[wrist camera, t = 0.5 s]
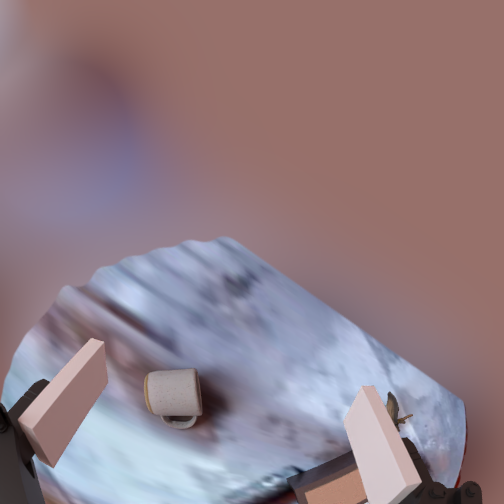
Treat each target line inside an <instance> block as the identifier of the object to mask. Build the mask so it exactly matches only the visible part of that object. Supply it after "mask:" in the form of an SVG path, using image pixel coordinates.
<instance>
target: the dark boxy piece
mask: <svg viewBox="0 0 504 504" xmlns="http://www.w3.org/2000/svg"><path fill="white" fill-rule="evenodd" d="M286 479H287V482H288V484H289V485H290V487H291V488H292V490H293V491H294V493H295V496H296V499H297V502H298V504H364V503H366V502H368V499H367V495H366V492H365V489H364V485H363V482H362V479H361V476H360V472H359V469H358V466H357V463H356V460H355V457H354V453H353V450H352V451H350V452H348V453H346V454H344V455H342V456H339V457H337V458H335V459H333V460H331V461H329V462H326V463H324V464H322V465H320V466H317V467H315V468H312V469H310V470H307V471H305V472H302V473H300V474H297V475H294V476H292V477H289V478H286Z"/></svg>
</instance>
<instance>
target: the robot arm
mask: <svg viewBox="0 0 504 504" xmlns="http://www.w3.org/2000/svg"><path fill="white" fill-rule="evenodd" d="M107 384H108V376H107V367H106V357H105V346H104V342H102V341H99V340H96V339H93V338H91V339H90V340H89V341H88V342H87V343H86V344H85V345H84V346H83V347H82V348H81V350H80V351H79V352H78V353H77V354H76V355H75V356H74V357H73V358H72V359H71V360H70V361H69V362H68V363H67V364H66V365H65V367H64V368H63V369H62V370H61V371H60V372H59V373H58V374H57V375H56V376H55V377H54V379H53V380H52V381H51V382H49V381H47V380H45V379H42V380H40V381H38V382H36V383H34V384H33V385H32V386H31V387H30V388H29V389H28V391H27V392H26V393H25V394H24V396H22V397H21V398H20V399H19V400H18V401H17V402H16V404H15V405H14V406H13V407H12V408H11V409H10V410H9V411H8V412H7V411H6V409H5V407H4V406H3V404H2V403H0V504H45V501H44V498H43V495H42V491H41V488H40V485H39V481H38V477H37V474H36V470H35V465H34V461H33V459H32V457H33V455H34V454H36V456H37V457H38V459H39V460H40V461H41V462H43V463H45V464H47V465H48V466H50V467H52V468H54V467H55V465H56V463H57V462H58V460H59V458H60V457H61V455H62V454H63V452H64V450H65V449H66V447H67V445H68V444H69V442H70V441H71V439H72V437H73V436H74V434H75V433H76V431H77V429H78V428H79V426H80V425H81V423H82V422H83V420H84V419H85V417H86V415H87V414H88V412H89V411H90V409H91V408H92V406H93V405H94V403H95V402H96V400H97V399H98V397H99V396H100V394H101V393H102V391H103V390H104V388H105V387H106V385H107ZM343 423H344V426H345V429H346V432H347V435H348V438H349V441H350V444H351V447H352V450H353V453H354V457H355V460H356V463H357V466H358V469H359V472H360V476H361V479H362V482H363V485H364V489H365V492H366V495H367V499H368V502H369V504H482V493H481V488H480V486H479V485H478V484H477V483H475V482H473V481H467V482H466V483H464V484H463V485H462V486H461V487H460V488H446V487H445V486H444V485H443V484H441V483H439V482H433V480H432V478H431V476H430V474H429V472H428V470H427V468H426V466H425V464H424V462H423V460H422V459H421V456H420V454H419V453H418V451H417V449H416V447H415V445H414V443H413V442H411V441H410V440H409V439H408V438H407V437H406V438H401V437H400V435H399V433H398V431H397V429H396V427H395V425H394V423H393V421H392V419H391V417H390V416H389V414H388V412H387V410H386V408H385V406H384V404H383V402H382V400H381V398H380V396H379V394H378V393H377V391H376V389H375V387H374V386H361V388H360V390H359V392H358V394H357V396H356V398H355V400H354V402H353V404H352V406H351V408H350V410H349V412H348V413H347V415H346V417H345V419H344V421H343Z"/></svg>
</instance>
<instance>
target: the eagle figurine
mask: <svg viewBox="0 0 504 504" xmlns="http://www.w3.org/2000/svg"><path fill="white" fill-rule="evenodd" d="M385 408H386V410H387V412H388V414H389V416H390V417H391V419H392V421H393V423H394V425H395V427H396V428H397V431H400V430H399V427H398V424H399V423H403V424H405V423H406V422H405V421H404V420H405V419H407V418H409V417H411V416H413V414H411V415H408V416H406V417H404V418H401V419H397V417H398V411H399V407H398V403H397V401H396V398H395V397H394V395H393V394H392V393H391V392H388V401H387V405H386V407H385Z"/></svg>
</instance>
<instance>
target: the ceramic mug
mask: <svg viewBox="0 0 504 504" xmlns="http://www.w3.org/2000/svg"><path fill="white" fill-rule="evenodd" d="M144 394H145V400H146V404H147V407H148V409H149V411H150V412H151V413H153V414H155V415H161V418H162V420H163V421H164V423H165V424H167V425H168V426H170V427H173V428H178V429H185V428H189V427H191V426H192V425H193V424H194V423H195V421H196V419H197V416H200V415H202V400H201V391H200V383H199V378H198V372H197V370H196V369H195V368H191V369H180V370H167V371H155V372H151V373H148V374H147V376H146V377H145V381H144ZM166 416H193V418H192V419H191V420H190V421H187V422H180V421H172V420H170V419H168V418H167V417H166Z"/></svg>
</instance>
